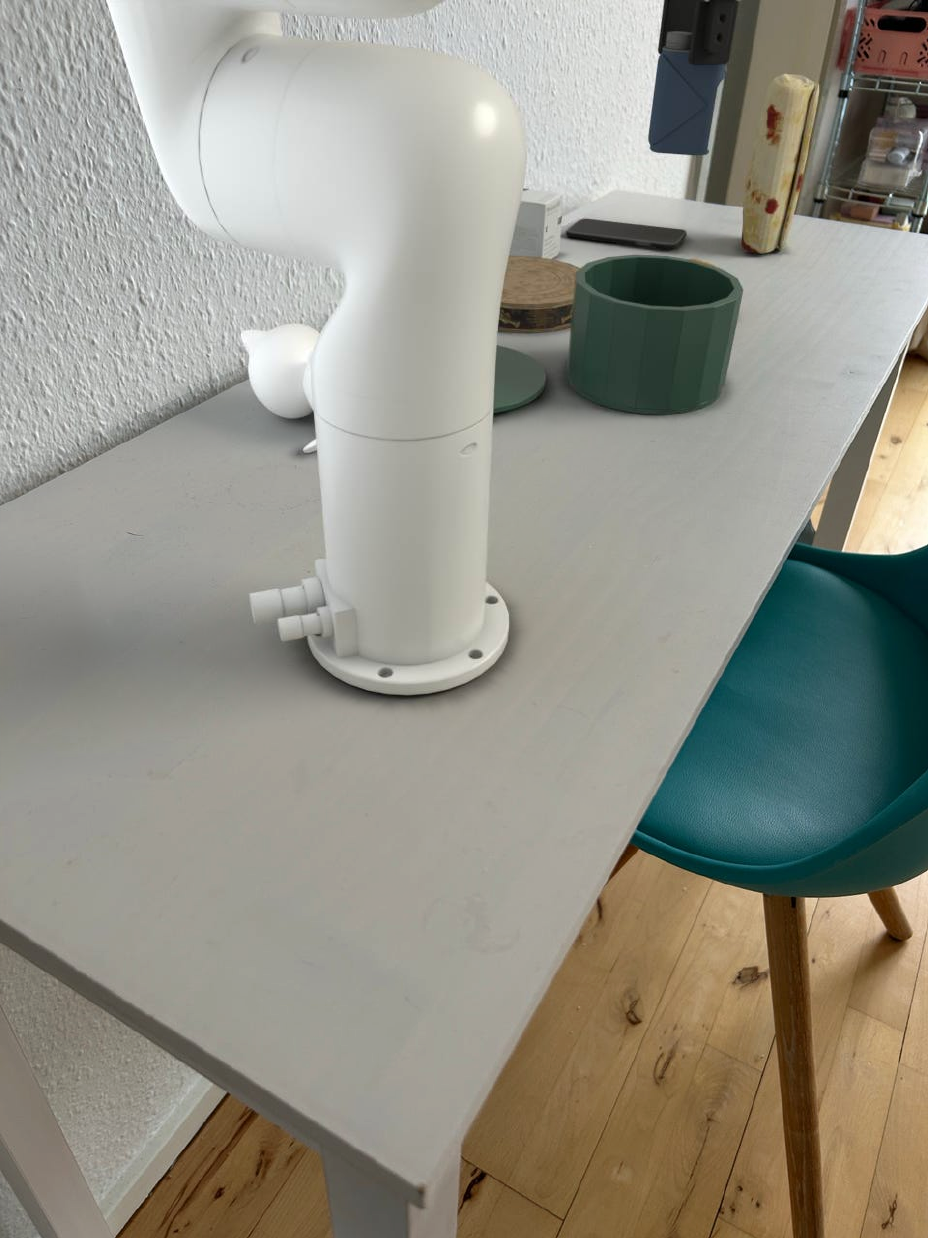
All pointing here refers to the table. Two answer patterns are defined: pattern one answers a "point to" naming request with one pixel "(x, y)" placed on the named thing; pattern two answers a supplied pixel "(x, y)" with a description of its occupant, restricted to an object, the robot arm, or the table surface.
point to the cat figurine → (283, 369)
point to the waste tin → (652, 333)
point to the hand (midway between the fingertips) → (692, 56)
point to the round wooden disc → (537, 295)
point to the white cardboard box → (538, 224)
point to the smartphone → (627, 233)
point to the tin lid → (516, 379)
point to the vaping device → (683, 100)
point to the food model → (778, 162)
